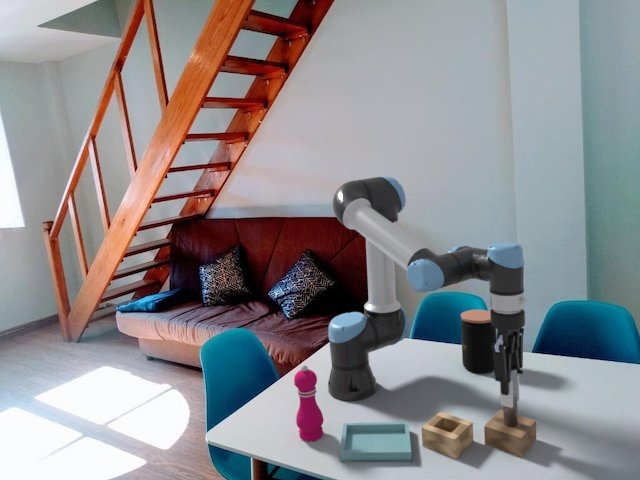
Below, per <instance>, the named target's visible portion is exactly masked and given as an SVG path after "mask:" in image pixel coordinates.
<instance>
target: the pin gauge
mask: <svg viewBox="0 0 640 480" xmlns="http://www.w3.org/2000/svg"><path fill="white" fill-rule="evenodd" d="M511 381H512V382H513V407H512V408H511V407H507V406H503V405H502V409H503V410H502V411H503V422H504V425H506V426H508V427H516V426H517V425H518V401H517V369H516V368H514V367H511Z"/></svg>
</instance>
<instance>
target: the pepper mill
mask: <svg viewBox="0 0 640 480" xmlns="http://www.w3.org/2000/svg"><path fill="white" fill-rule="evenodd" d="M317 383H318V377H317V375H316V372H315V371H313V370H312V369H309V368H308V366H307V364H302V365H301V366H300V370H298V371H297V372H296V373H295V374H294V377H293V384H294V386H295V387H296V388H297V389H296V391H297V393H296V394H297V396H299V407H298V410H297V413H296V417H295V421H296V422H295V424H296V426H297V427H298V428H299V430H298V432H299V434H298V435H299V438H300V439H301V440H302V441H303V440H304V442H307V441H308V442H311V441H312V442H316V441H318V440H320V439H322V437H323V434H324V433H323V432H324V431H323V424H324V416H323V412H322V410H321V409H320V407H319V404H318V403H317V400H316V394H317V387H316V385H317ZM312 442H311V443H312Z"/></svg>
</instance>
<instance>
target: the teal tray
mask: <svg viewBox="0 0 640 480" xmlns="http://www.w3.org/2000/svg"><path fill="white" fill-rule="evenodd" d="M409 425H410V424H409V421H394V422H393V421H391V422H390V421H389V422H387V421H386V422H384V421H383V422H343V425H342V432H341V442H340V446H339V447H340V449H339V460H340V463H379V462H380V463H385V462H386V463H388V462H389V463H391V462H392V463H393V462H394V463H398V462H400V463H401V462H408V463H409V462H413V459H412V457H413V456H412V446H411V436H410V435H411V434H410V427H409Z"/></svg>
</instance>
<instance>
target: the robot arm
mask: <svg viewBox="0 0 640 480" xmlns="http://www.w3.org/2000/svg"><path fill="white" fill-rule="evenodd" d="M405 207H406V193H405V191H404V188H403V186H402V185H401V184H400V183H399V181H398V180H397V179H396V178H394V177H392V176H374V177H369V178H364V179H357V180H356V179H355V180H350V181H347V182H345V183H343V184H342V185H340V186H339V187H338V189H337V190H336V191H335V193H334V195H333V198H332V209H333V213H334V215H335V217H336V219H337V220H338V221H339V222H340V223H341V224H342V226H343V227H345V228H347V229H349V230H355V232H357V233H358V234H359V235H361V236H363V238H365V250H366V251H365V252H366V271H367V273H366V275H367V290H368V291H367V293H368V294H367V295H368V300H367V302H366V303H365V304H364V305H363V308H364V309H363V311H364V313H362V312H359V311H351V312H345V313H341V314H338V315H336V316H334V317H333V318H332V319H331V321H330V322H329V323H328V335H327V336H328V340H329V349H330V359H331V369H330V372H329V373H330V374H329V379H328V382H327V388H328V393H329V395H330V396H331V397H333V398H335V399H338V400H342V401H343V400H344V401H357V400H363V399H366V398H369V397H371V396H372V395H374V394H375V392H376V391H377V387H378V386H377V379H376V376H375V375H374V373H373V371H372V368H371V365H370V359H369V357H370V356H369V354H370V353H372V352H375V351H378V350H380V349H384V348H387V347H389V346H394V345H396V344H397V343H399V342H401V341H403V340H404V339H405V338H406V337H407V336H408V334H409V331H410V320H409V316H408V315H407V311H406V309H404V308H403V307H402V305H401V303H400V302H399V301H398V300H397V297H396V296H397V294H396V293H397V292H396V270H395V266H396V265H397V264H398V266H400V267H401V268H402V269H403V270H404V271H406V279H407V282H408V283H409V284H410V287H411V288H412V289H413V290H414V291H416V292H418V293H427V292H434V291H437V290H440V289H443V288H445V287H449V286H452V285H455V284H456V285H457V284H459V283H462V282H466V281H468V280H478V281H479V280H480V281H483V282H488V285H489V307H490V310H489V311H490V316H491V324H492V326H494V327H495V328H496V343H492V345H491V348H492V351H493V359H494V371H493V372H494V380H495V381H496V382H499V390H500V391H499V394H500V405H501V406H502V407H503V406H507V407H511V408H512V407H513V382H512V381H511V367H514V368H516V369H517V402H519V401H520V400H521V399H520V375H523V373H524V370H522V369H523V366H524V360H523V359H524V358H523V357H524V334H525V333H524V332H525V328H524V326H526V311H525V310H524V309H525V302H526V301H527V297H525V286H524V277H525V275H524V274H525V272H524V271H525V269H524V267H525V266H524V265H525V260H524V252H523V251H524V250H523V246H522V245H521V244H519V243H517V242H513V241H500V242H499V241H498V242H493V243H491V244H489V245H488V246H487V249H486V248H479V247H472V246H470V245H464V246H463V245H455V246H453V247H451V249H450V250H448V252H446V253H443V254H436V253H435V252H433V250H430V249H429V248H428V247H426V246H425V245H423V244H422V243H421V242H419V240H417V239H416V238H414V237H413V236H411V235H410V234H409V233H407V232H406V231H405V230H403V229H401V228H400V227H399V226H398V225H396V224H397V223H398V222H399V213H401V212H402V211H403V209H404V208H405ZM395 263H396V265H395Z"/></svg>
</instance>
